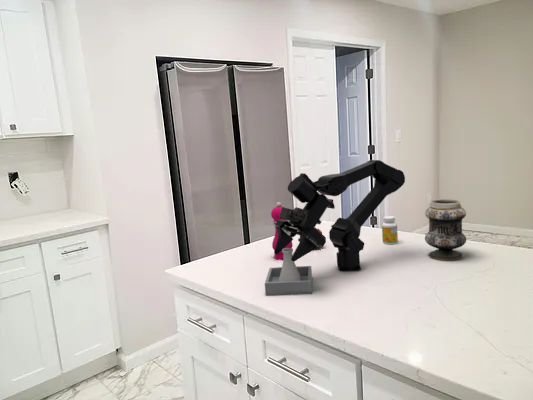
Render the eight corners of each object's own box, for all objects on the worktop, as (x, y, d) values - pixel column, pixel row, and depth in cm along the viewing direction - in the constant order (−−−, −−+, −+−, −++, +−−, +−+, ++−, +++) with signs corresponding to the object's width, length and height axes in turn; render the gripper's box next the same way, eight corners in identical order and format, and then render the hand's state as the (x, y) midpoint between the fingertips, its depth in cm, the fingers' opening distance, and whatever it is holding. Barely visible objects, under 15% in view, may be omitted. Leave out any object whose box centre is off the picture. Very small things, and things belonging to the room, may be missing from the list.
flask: (282, 277, 119) (280, 245, 117) (305, 279, 116) (303, 246, 114) (273, 286, 112) (270, 252, 110) (298, 288, 109) (295, 253, 108)
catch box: (312, 276, 119) (311, 265, 119) (311, 293, 107) (310, 281, 106) (270, 278, 121) (269, 267, 120) (265, 295, 109) (264, 283, 108)
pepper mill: (292, 260, 137) (287, 203, 133) (271, 260, 138) (266, 204, 135) (294, 253, 144) (290, 199, 140) (275, 254, 145) (270, 200, 142)
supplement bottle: (379, 242, 148) (378, 217, 147) (392, 239, 150) (391, 214, 148) (388, 245, 143) (387, 219, 142) (400, 243, 145) (399, 217, 143)
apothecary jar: (475, 256, 124) (475, 200, 121) (446, 264, 119) (445, 206, 116) (445, 248, 135) (444, 196, 132) (417, 254, 130) (415, 201, 128)
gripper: (277, 193, 120) (248, 235, 116) (314, 199, 104) (281, 248, 100) (301, 214, 125) (274, 255, 121) (339, 222, 108) (309, 270, 105)
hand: (283, 257), depth 112 cm, fingers open, 9 cm apart
